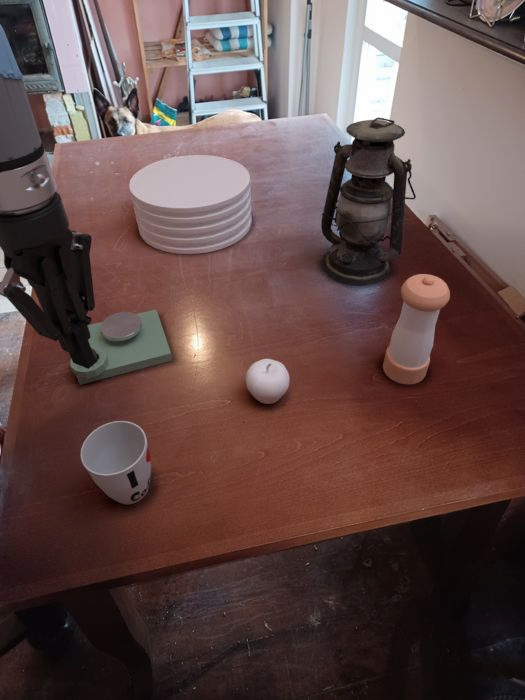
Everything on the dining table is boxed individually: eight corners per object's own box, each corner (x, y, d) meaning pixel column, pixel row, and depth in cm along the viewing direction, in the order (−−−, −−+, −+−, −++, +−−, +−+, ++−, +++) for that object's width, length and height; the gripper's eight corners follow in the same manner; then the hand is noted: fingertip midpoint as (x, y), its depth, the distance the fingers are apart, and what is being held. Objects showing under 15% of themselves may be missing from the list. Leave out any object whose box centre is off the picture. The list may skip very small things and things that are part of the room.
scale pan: (77, 351, 82) (76, 348, 81) (74, 321, 87) (72, 318, 87) (145, 335, 84) (144, 331, 84) (137, 306, 90) (136, 303, 90)
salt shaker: (388, 349, 86) (410, 258, 72) (429, 361, 83) (459, 270, 70) (377, 376, 81) (398, 285, 68) (420, 390, 79) (450, 298, 65)
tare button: (80, 368, 79) (77, 362, 78) (78, 356, 81) (76, 350, 80) (98, 364, 80) (96, 357, 79) (96, 352, 82) (94, 345, 81)
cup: (141, 522, 63) (125, 483, 56) (89, 504, 65) (67, 464, 58) (169, 471, 68) (157, 429, 62) (120, 456, 70) (103, 414, 63)
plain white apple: (269, 419, 75) (269, 385, 69) (237, 395, 78) (235, 361, 73) (298, 393, 79) (300, 359, 73) (266, 372, 82) (266, 338, 77)
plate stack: (122, 249, 111) (110, 203, 103) (159, 194, 131) (151, 152, 123) (239, 258, 108) (237, 211, 100) (259, 200, 127) (258, 157, 119)
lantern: (301, 266, 105) (308, 124, 84) (345, 230, 116) (360, 95, 95) (378, 297, 96) (407, 147, 76) (418, 255, 107) (452, 113, 86)
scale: (77, 389, 80) (71, 375, 78) (71, 337, 89) (65, 323, 87) (173, 364, 84) (170, 350, 81) (158, 316, 93) (155, 302, 91)
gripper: (-5, 237, 43) (72, 405, 59) (92, 179, 51) (136, 340, 68) (-61, 220, 45) (27, 385, 62) (40, 167, 54) (95, 325, 70)
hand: (84, 362), depth 65 cm, fingers closed
